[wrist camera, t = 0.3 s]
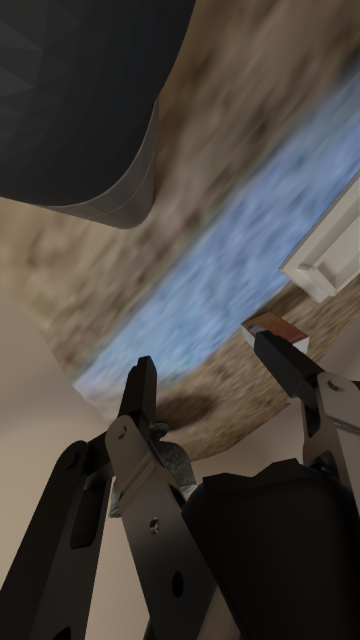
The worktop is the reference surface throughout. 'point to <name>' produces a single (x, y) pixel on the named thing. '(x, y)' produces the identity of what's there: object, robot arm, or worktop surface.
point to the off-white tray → (329, 248)
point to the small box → (275, 330)
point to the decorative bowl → (172, 459)
